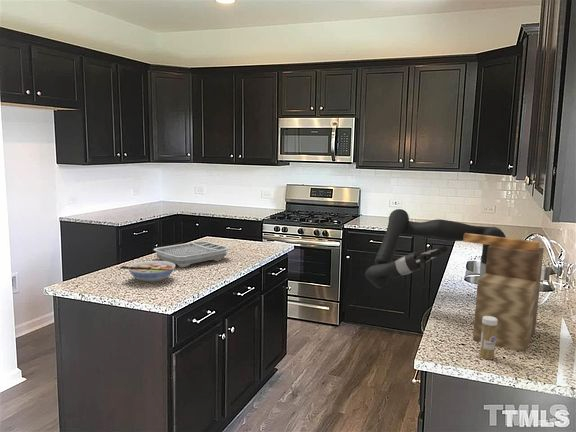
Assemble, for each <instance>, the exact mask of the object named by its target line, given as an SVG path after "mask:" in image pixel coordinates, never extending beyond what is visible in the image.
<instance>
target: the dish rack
mask: <svg viewBox="0 0 576 432" xmlns="http://www.w3.org/2000/svg"><path fill="white" fill-rule="evenodd" d="M228 250H230V247H229V246H228V245H227V246H226V245H223V244H220V243H215V242H211V241H208V240H207V241H206V240H195V241H190V242H187V243H177V244H173V245H167V246H166V245H165V246H159V247H155V248H153V251H154V252H156V258H158V259H160V260H162V261H166V262H171V263H174V264H175V265H177V266H178V268H179V267H180V268H187V267H189V266H190V265H191V264H196V263H201V262H206V261H210V260H213V261H215V262H219V260H220V261H221V260H222V258H224V257H226V256H227V251H228Z"/></svg>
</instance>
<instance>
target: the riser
mask: <svg viewBox="0 0 576 432" xmlns="http://www.w3.org/2000/svg"><path fill="white" fill-rule="evenodd" d="M544 249H545V248H544V247H539V250H538V251H533V250H525V249H518V248H510V247H502V246H494V245H490V246H488V251H487V262H486V273H485V274H484V275H483V276H482V277H481V278H480V279H479V278H478V280H477V285H476V295H475V309H474V310H475V311H474V323H473V335H472V340H473V341H475V342H479V343H481V332H482V318H483V316H492V317H495V318H497V320H498V322H497V326H496V338H495V347H496V346H498V347H500V348H506V349H510V350H515V351H518V352H523V353H526V351H527V350H528V347H529V345H530V343H531V341H532V338H533V336H534V334H535V332H536V327H537V319H538V318H537V316H538V309H539V298H540V289H541V278H542V270H543V269H542V267H543V259H544Z"/></svg>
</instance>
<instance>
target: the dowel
mask: <svg viewBox="0 0 576 432" xmlns="http://www.w3.org/2000/svg"><path fill="white" fill-rule="evenodd" d="M462 242H464V243H472V244H479V245H483V244H486V245H494V246H502V247H510V248H518V249H525V250H533V251H538V250H539V248H540V243H541V241H539V240H530V239H529V240H528V239H520V238H514V237H513V238H511V237H506V238H505V237H496V236H488V235H479V234H471V233H465V234H464V237H463V241H462Z"/></svg>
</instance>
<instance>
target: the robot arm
mask: <svg viewBox="0 0 576 432" xmlns="http://www.w3.org/2000/svg"><path fill="white" fill-rule="evenodd" d="M409 216H410V215H409V214H408V212H407V211H406V210H404V209H400V208H398V209H397V208H396V209H394V210H392V211H391V212H390V214H389V216H388V224H387V228H386V231H385V235H384V237H383V239H382V242H381V245H380V247H379V249H378V251H377V254H376V256H375V259H374V265H371V266H369V267H368V268H367V269H366V271H365V274H364V276H365V278H366V279H367V280H368V281H369V282H370V283H371V284H372V285H373V286H374V287H375V288H377V289H382V288H384V287H385V286H386V285H387V284H388V282H389V281H390V279H393V280H394V279H397V278H399V277H402V276H404V275H405V276H406V275H409V274H412V273H414V272H417V271H419V270H421V269H423V268H424V264H426V263H428V262H429V261H431V260H432V259H435V258H437V257H438V256H440V255H443V253H446V252H448V251H449V248H448V246H447V245H444V246H442V247H438V248H435V249H430V250H428V251H425V252H422V253H420V254H419V253H418V252H417V251H413V252H410V253H408V254H406V255H403V256H401V257H399V258H398V259H395V260H393V259H394V256H395V252H396V249H397V246H398V242H399V239H400V238H399V237H400V235H401V236H414V237H415V236H416V237H423V238H424V237H425V238H430V239H437V240H441V241H446V242H447V241H448V242H463V237H464V234H465V233H471V234H479V235H488V236H496V237H505V238H507V237H506V234H505V233H504V231H503V230H502V229H501V228H499V227H496V226H481V225H471V224H467V223H462V222H459V221H452V220H447V219H440V218H439V219H437V218H436V219H432V220H428V221H427V220H426V221H422V222H421V221H420V222H419V221H412V220H410V217H409ZM488 246H490V245H486V244H482V252H481V256H480V268H479V277H478V280H479V279H480V278H481V277H482V276H483V275H484V274H485V273H486V262H487V251H488ZM389 278H390V279H389Z"/></svg>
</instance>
